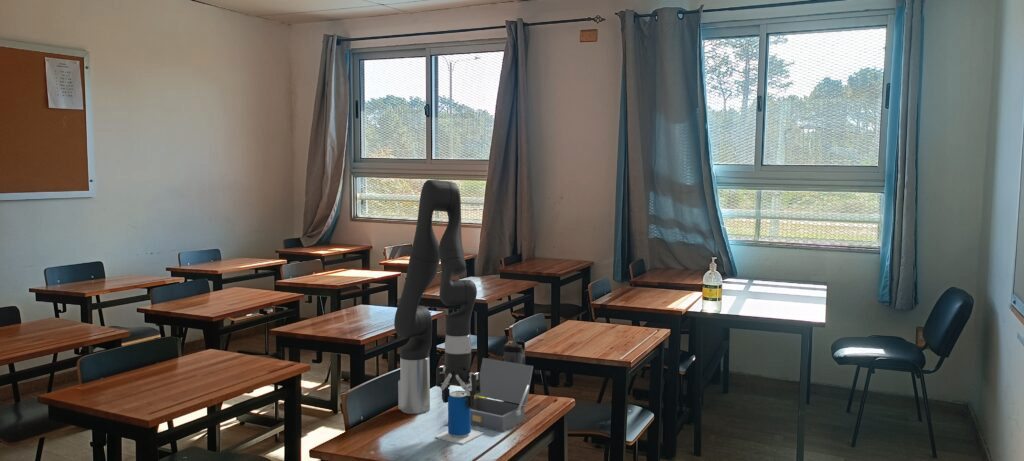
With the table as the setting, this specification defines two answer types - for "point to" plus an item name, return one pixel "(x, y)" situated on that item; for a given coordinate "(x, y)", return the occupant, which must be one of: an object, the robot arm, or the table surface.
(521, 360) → the electronic device
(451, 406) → the beverage can
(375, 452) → the table surface
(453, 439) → the pad
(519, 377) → the case
